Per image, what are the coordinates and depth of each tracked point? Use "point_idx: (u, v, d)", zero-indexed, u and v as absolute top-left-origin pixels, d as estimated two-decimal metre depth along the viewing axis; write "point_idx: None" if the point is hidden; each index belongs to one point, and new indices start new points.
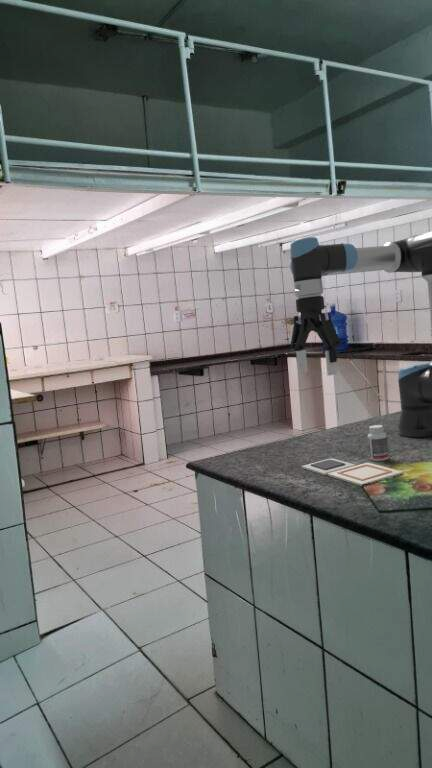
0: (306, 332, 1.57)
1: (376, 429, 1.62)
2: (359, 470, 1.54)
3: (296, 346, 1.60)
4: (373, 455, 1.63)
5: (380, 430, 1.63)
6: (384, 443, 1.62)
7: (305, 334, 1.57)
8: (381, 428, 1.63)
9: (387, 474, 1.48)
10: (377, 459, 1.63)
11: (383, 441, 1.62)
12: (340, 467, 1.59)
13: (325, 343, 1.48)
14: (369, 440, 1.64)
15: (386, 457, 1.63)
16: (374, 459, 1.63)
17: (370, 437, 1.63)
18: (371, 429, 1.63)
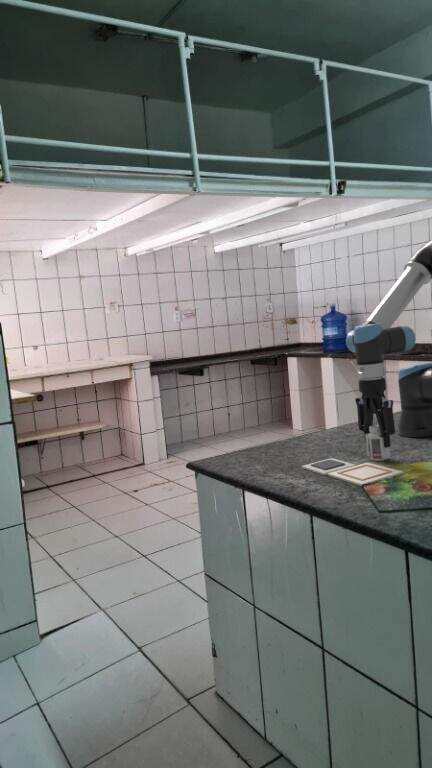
0: (371, 412, 1.65)
1: (376, 429, 1.62)
2: (359, 470, 1.54)
3: (364, 428, 1.67)
4: (373, 454, 1.63)
5: None
6: None
7: (370, 414, 1.66)
8: None
9: (387, 474, 1.48)
10: (377, 459, 1.63)
11: None
12: (340, 467, 1.59)
13: (381, 429, 1.60)
14: (369, 440, 1.64)
15: None
16: (374, 459, 1.63)
17: (370, 437, 1.63)
18: (371, 429, 1.63)
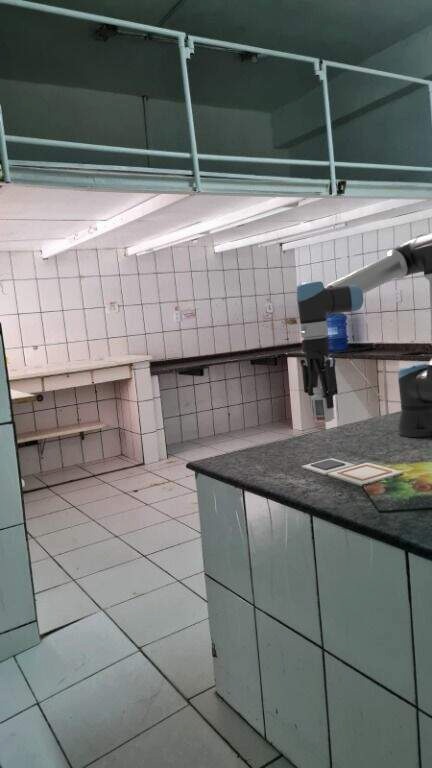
0: (315, 373, 1.62)
1: (319, 389, 1.59)
2: (359, 470, 1.54)
3: (309, 390, 1.63)
4: (316, 416, 1.60)
5: None
6: None
7: (314, 375, 1.62)
8: None
9: (387, 474, 1.48)
10: (320, 420, 1.59)
11: None
12: (340, 467, 1.59)
13: (324, 389, 1.57)
14: (312, 401, 1.60)
15: None
16: (317, 421, 1.60)
17: (313, 398, 1.60)
18: (314, 390, 1.60)
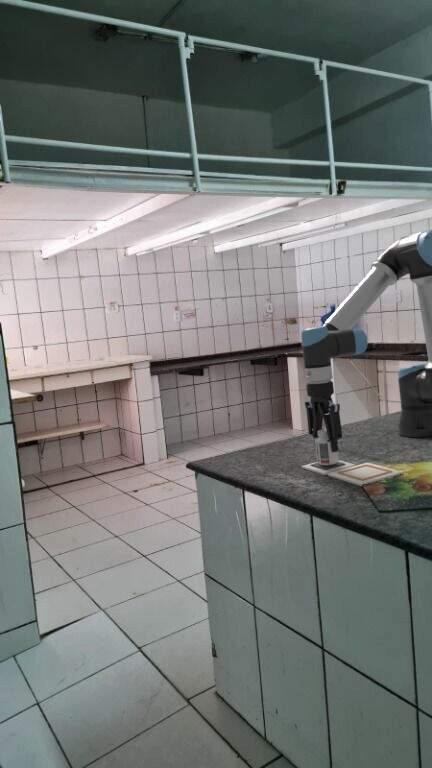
0: (319, 416, 1.63)
1: (324, 433, 1.60)
2: (359, 470, 1.54)
3: (314, 432, 1.65)
4: (321, 459, 1.61)
5: None
6: None
7: (319, 418, 1.63)
8: None
9: (387, 474, 1.48)
10: (325, 464, 1.61)
11: None
12: (340, 467, 1.59)
13: (329, 433, 1.58)
14: (317, 444, 1.61)
15: None
16: (322, 464, 1.61)
17: (318, 441, 1.61)
18: (319, 433, 1.61)
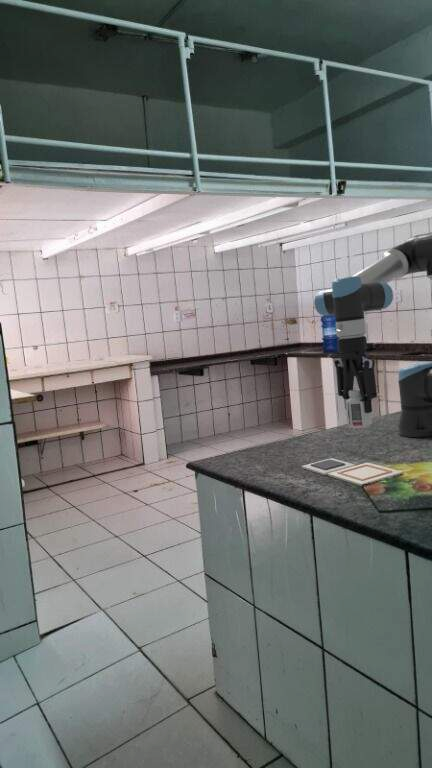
0: (351, 374, 1.50)
1: (356, 392, 1.47)
2: (359, 470, 1.54)
3: (344, 393, 1.52)
4: (352, 421, 1.48)
5: (360, 394, 1.47)
6: None
7: (350, 377, 1.51)
8: None
9: (387, 474, 1.48)
10: (357, 426, 1.48)
11: None
12: (340, 467, 1.59)
13: (362, 392, 1.45)
14: (348, 405, 1.49)
15: None
16: (354, 426, 1.48)
17: (349, 402, 1.48)
18: (350, 393, 1.48)
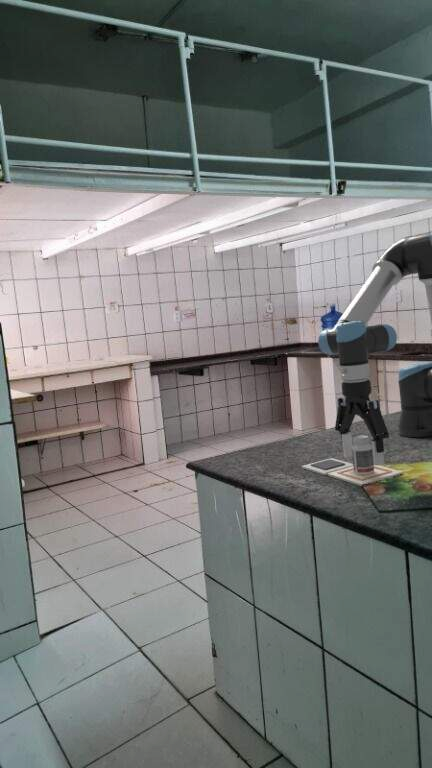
0: (352, 415, 1.53)
1: (361, 440, 1.49)
2: None
3: (341, 429, 1.56)
4: (357, 468, 1.50)
5: (365, 441, 1.49)
6: (369, 456, 1.49)
7: (351, 417, 1.53)
8: (366, 439, 1.49)
9: (387, 474, 1.48)
10: (362, 473, 1.49)
11: (368, 454, 1.49)
12: (340, 467, 1.59)
13: (372, 432, 1.44)
14: (353, 452, 1.50)
15: (372, 471, 1.50)
16: (358, 473, 1.50)
17: (354, 449, 1.50)
18: (355, 440, 1.50)
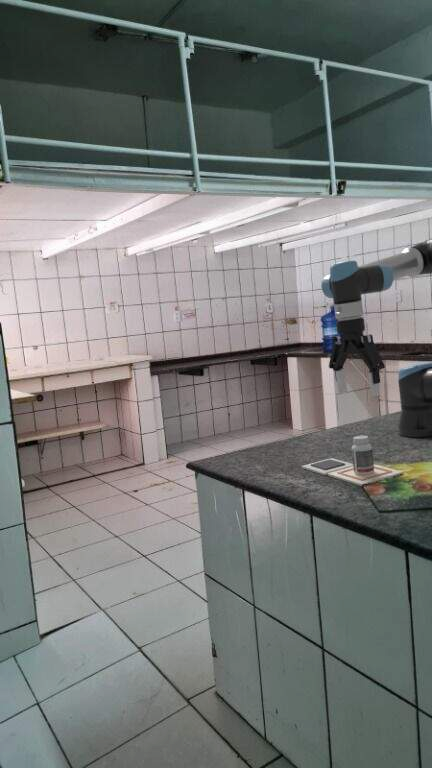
0: (346, 353, 1.60)
1: (361, 440, 1.49)
2: None
3: (335, 366, 1.63)
4: (357, 468, 1.50)
5: (365, 441, 1.49)
6: (369, 456, 1.49)
7: (345, 355, 1.60)
8: (366, 439, 1.49)
9: (387, 474, 1.48)
10: (362, 473, 1.49)
11: (368, 454, 1.49)
12: (340, 467, 1.59)
13: (368, 364, 1.51)
14: (353, 452, 1.50)
15: (372, 471, 1.50)
16: (358, 473, 1.50)
17: (354, 449, 1.50)
18: (355, 440, 1.50)
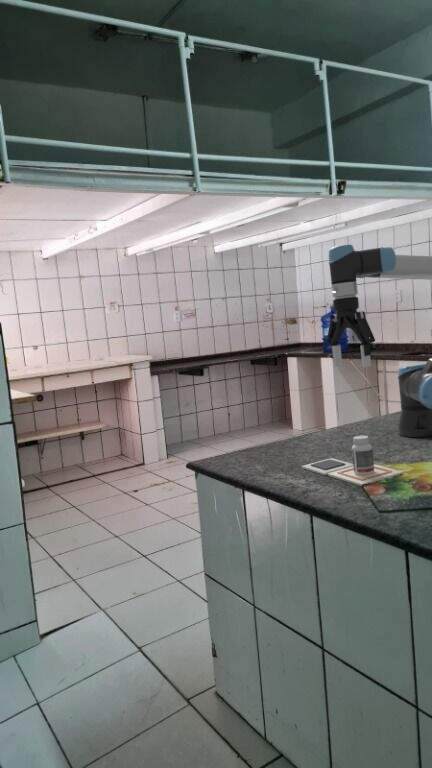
0: (341, 329, 1.76)
1: (361, 440, 1.49)
2: None
3: (332, 341, 1.79)
4: (357, 468, 1.50)
5: (365, 441, 1.49)
6: (369, 456, 1.49)
7: (340, 331, 1.77)
8: (366, 439, 1.49)
9: (387, 474, 1.48)
10: (362, 473, 1.49)
11: (368, 454, 1.49)
12: (340, 467, 1.59)
13: (360, 338, 1.67)
14: (353, 452, 1.50)
15: (372, 471, 1.50)
16: (358, 473, 1.50)
17: (354, 449, 1.50)
18: (355, 440, 1.50)
